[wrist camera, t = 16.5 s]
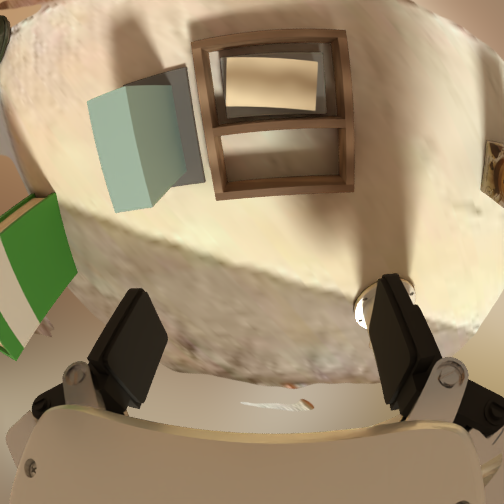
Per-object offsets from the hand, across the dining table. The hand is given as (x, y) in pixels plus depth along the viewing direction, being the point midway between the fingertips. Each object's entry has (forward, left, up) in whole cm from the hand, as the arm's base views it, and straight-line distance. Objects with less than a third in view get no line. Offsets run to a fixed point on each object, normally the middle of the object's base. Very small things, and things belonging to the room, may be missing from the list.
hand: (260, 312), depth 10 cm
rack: (+6, -2, -27) cm, 28 cm away
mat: (+5, +13, -27) cm, 31 cm away
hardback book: (-8, +42, -28) cm, 51 cm away
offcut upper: (+9, -1, -26) cm, 28 cm away
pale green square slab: (+5, +13, -27) cm, 30 cm away
